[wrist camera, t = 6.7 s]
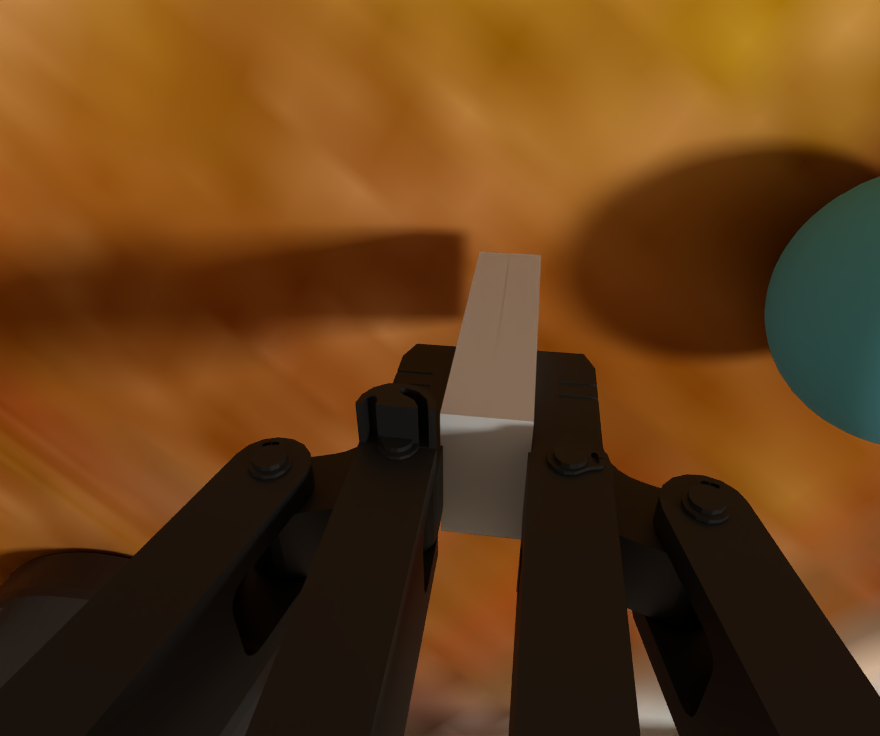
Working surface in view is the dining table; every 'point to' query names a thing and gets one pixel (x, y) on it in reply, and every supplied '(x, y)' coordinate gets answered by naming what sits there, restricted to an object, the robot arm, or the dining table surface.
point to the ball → (832, 312)
